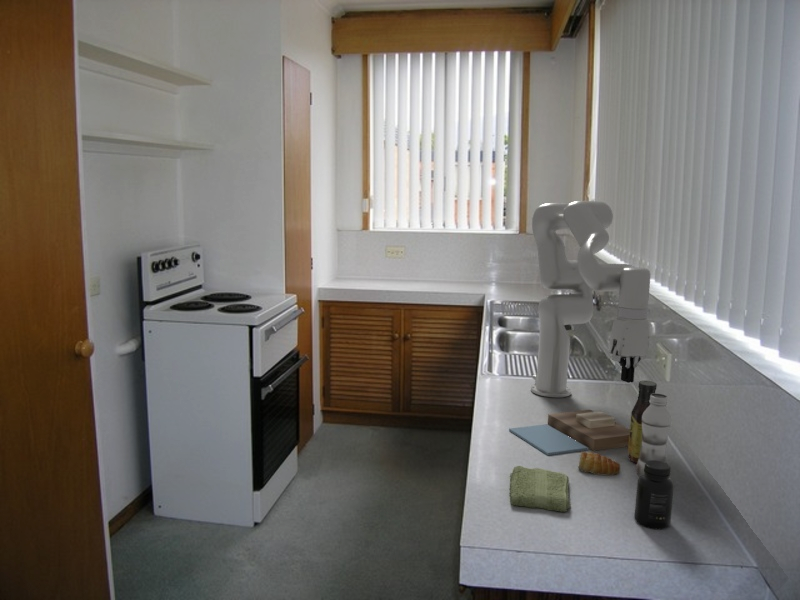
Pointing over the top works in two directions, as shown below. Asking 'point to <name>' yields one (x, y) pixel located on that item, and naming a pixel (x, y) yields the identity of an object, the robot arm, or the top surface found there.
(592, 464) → the pastry
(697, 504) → the top surface
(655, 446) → the plastic bottle
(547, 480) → the washcloth
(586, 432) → the walnut stand
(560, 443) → the rubber mat
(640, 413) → the sauce bottle
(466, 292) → the top surface
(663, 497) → the supplement bottle
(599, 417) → the birch tile
